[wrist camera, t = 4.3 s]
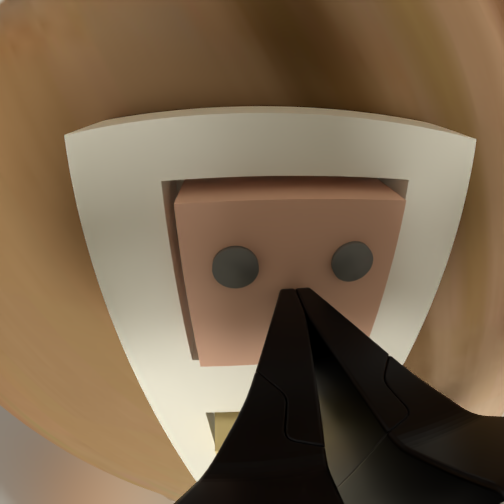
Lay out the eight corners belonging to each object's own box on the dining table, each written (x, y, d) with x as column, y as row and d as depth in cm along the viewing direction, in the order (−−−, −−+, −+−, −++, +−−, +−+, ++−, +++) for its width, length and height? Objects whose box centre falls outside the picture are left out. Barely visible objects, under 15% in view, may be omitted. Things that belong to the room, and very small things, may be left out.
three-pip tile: (372, 174, 9) (409, 203, 7) (346, 312, 12) (365, 356, 10) (186, 176, 9) (172, 207, 7) (203, 322, 12) (200, 370, 10)
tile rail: (426, 122, 10) (476, 139, 7) (318, 461, 26) (322, 484, 23) (104, 120, 9) (64, 134, 6) (205, 470, 25) (205, 494, 23)
